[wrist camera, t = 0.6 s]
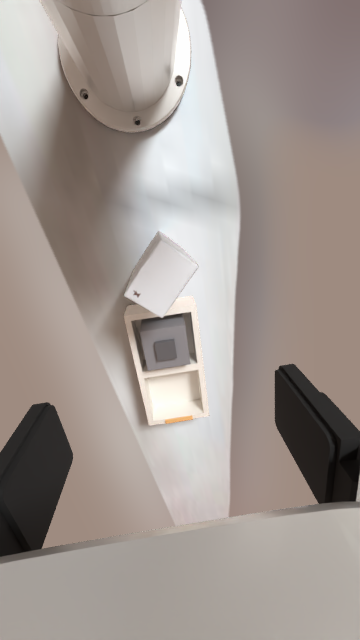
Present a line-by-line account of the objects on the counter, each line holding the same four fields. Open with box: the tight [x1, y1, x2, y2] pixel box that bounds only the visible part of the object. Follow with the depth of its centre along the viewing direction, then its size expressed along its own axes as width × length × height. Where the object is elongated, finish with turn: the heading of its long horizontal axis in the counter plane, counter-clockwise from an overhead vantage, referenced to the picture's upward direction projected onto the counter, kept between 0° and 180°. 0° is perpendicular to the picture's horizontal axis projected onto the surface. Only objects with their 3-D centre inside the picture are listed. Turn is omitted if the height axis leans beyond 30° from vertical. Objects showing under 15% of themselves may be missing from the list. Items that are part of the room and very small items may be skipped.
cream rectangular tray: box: [124, 296, 209, 426], centre depth 38 cm, size 18×9×4 cm, turn 8°
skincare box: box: [124, 231, 198, 318], centre depth 29 cm, size 6×4×12 cm
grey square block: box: [140, 313, 191, 371], centre depth 35 cm, size 6×6×5 cm
